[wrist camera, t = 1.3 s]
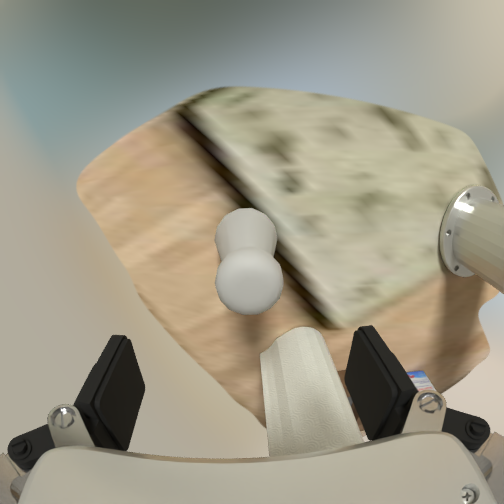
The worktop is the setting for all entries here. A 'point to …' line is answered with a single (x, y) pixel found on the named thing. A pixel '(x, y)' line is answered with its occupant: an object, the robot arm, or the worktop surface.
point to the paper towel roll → (305, 396)
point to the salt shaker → (247, 262)
